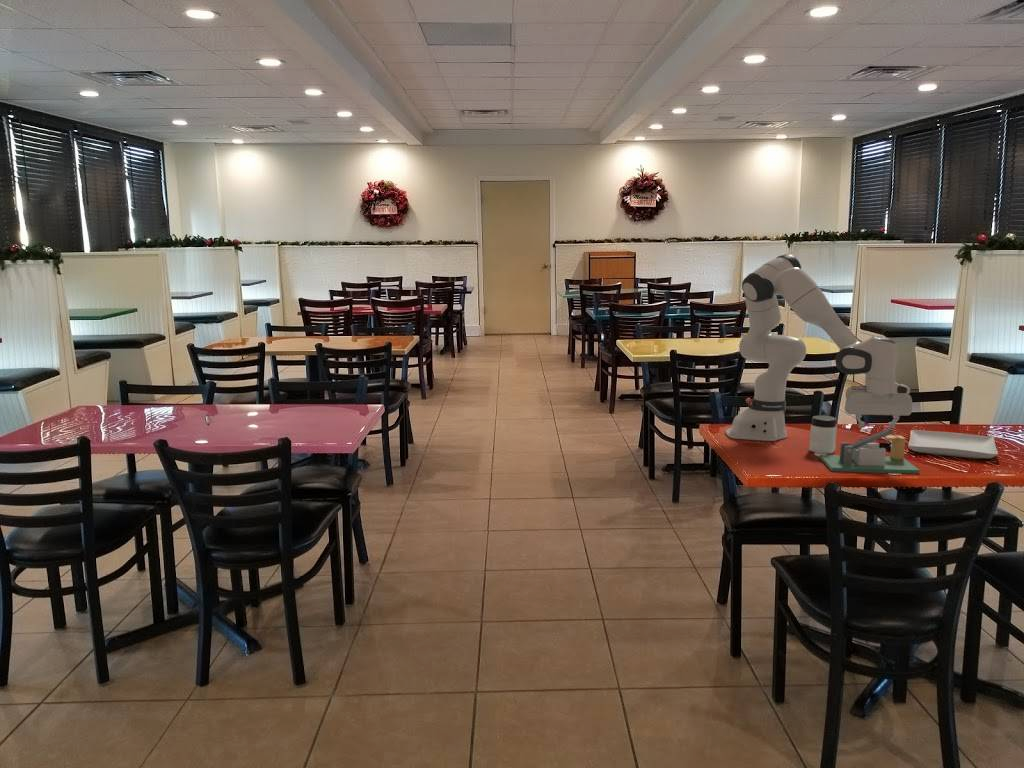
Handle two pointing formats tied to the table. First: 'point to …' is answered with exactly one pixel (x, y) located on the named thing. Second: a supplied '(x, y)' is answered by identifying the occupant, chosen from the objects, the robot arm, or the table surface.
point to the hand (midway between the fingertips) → (876, 427)
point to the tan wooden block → (896, 446)
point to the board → (864, 468)
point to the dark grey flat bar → (870, 438)
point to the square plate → (953, 444)
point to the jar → (823, 434)
